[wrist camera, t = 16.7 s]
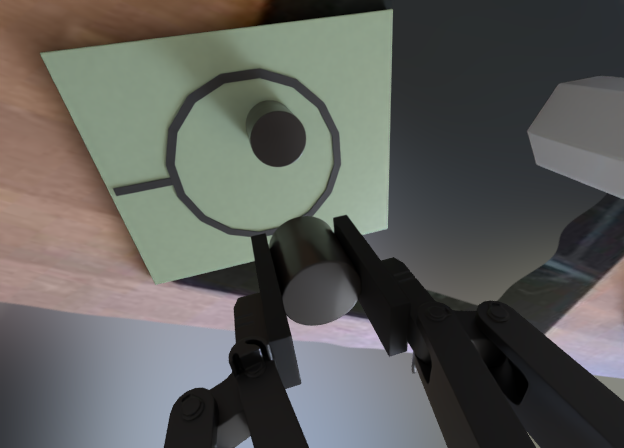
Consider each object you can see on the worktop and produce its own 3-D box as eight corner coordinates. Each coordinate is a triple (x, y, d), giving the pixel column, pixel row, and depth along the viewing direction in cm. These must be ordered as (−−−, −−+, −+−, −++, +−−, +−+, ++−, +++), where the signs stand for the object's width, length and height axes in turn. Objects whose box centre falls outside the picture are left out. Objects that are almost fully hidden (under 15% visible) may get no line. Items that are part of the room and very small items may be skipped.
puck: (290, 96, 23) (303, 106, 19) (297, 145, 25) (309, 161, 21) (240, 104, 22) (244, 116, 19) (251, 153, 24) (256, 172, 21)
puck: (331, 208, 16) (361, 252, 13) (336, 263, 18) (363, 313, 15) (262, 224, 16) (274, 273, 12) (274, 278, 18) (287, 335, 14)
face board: (387, 9, 22) (393, 8, 21) (384, 224, 32) (388, 229, 31) (45, 52, 19) (38, 52, 18) (156, 279, 28) (155, 285, 27)
